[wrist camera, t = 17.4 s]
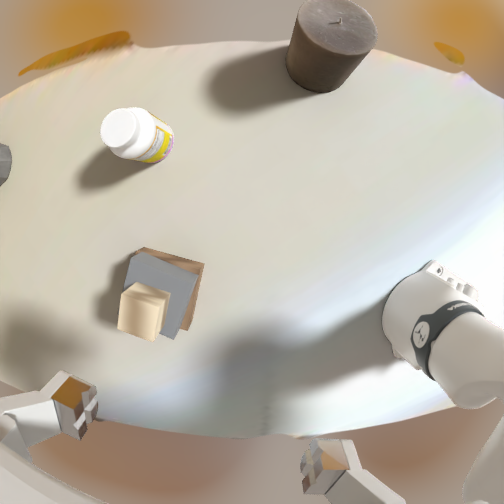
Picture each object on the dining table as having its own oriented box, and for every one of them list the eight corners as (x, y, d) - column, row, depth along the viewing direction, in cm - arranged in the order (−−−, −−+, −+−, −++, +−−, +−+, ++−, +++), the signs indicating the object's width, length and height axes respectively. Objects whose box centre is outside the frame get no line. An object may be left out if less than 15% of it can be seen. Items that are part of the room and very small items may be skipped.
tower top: (198, 275, 41) (192, 284, 37) (180, 327, 42) (173, 339, 38) (142, 251, 40) (131, 257, 36) (128, 304, 42) (117, 314, 38)
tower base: (205, 262, 44) (200, 269, 40) (192, 319, 46) (187, 330, 43) (145, 246, 44) (135, 251, 40) (137, 302, 46) (127, 312, 42)
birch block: (170, 292, 37) (159, 307, 32) (164, 325, 38) (153, 342, 33) (136, 281, 37) (121, 293, 32) (131, 313, 38) (117, 328, 33)
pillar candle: (317, 104, 38) (346, 66, 24) (272, 61, 37) (279, 8, 22) (358, 72, 37) (398, 31, 22) (315, 31, 36) (337, -21, 21)
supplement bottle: (130, 133, 40) (87, 117, 27) (167, 114, 39) (134, 89, 27) (143, 171, 41) (101, 166, 28) (181, 152, 40) (151, 139, 28)
